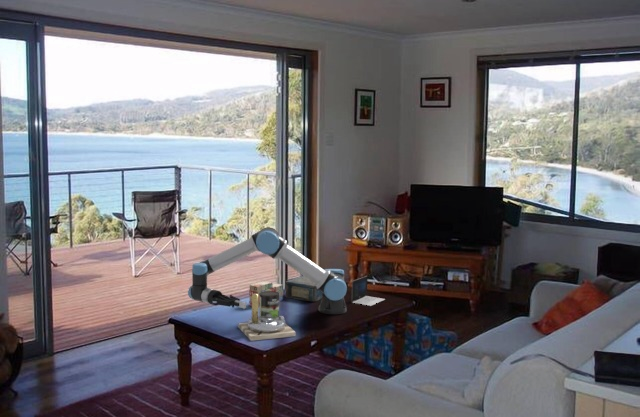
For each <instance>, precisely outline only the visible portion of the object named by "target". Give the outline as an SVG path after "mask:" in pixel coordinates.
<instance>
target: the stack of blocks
mask: <svg viewBox="0 0 640 417" xmlns="http://www.w3.org/2000/svg"><path fill="white" fill-rule="evenodd" d="M265 291H273V292H278V293H279V302H281V301H283V299H284V285H283V284H280V283H274V282H271V281H267V280H263V281H258V282H256V283H251V284H249V294H248V295H249V307H252V294H254V293H257V294H258V309H259V300H260V295H259V293H261V292H265Z"/></svg>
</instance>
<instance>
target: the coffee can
mask: <svg viewBox="0 0 640 417" xmlns="http://www.w3.org/2000/svg"><path fill="white" fill-rule="evenodd" d="M259 295H260V300H259V308H258V317H259V316H266V314H267V313H272V316H275V317H279V316H280V301H279V293H278V292H273V291H265V292H261V293H259Z"/></svg>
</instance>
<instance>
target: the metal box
mask: <svg viewBox="0 0 640 417" xmlns="http://www.w3.org/2000/svg"><path fill="white" fill-rule="evenodd" d="M285 298H290V299H293V300H300V301H306V302H315V303H316V302H318V301H321V299H322V292H321V291H320V290H318V289H317V288H316V284H315V283H313V282H312V281H310V280H309V279H307V278H306V277H305V276H303V275H301V276H298V277H295V278H291V279H289V280H286V281H285Z"/></svg>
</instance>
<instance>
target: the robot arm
mask: <svg viewBox="0 0 640 417" xmlns="http://www.w3.org/2000/svg"><path fill="white" fill-rule="evenodd" d="M255 252H261V253H262V254H263V255H267V256H269V257H270V258H272V259H273V260H275V259H279V260H280V261H281V262H283V263H284V264H286V265H287V266H288V267H290V268H291V269H293V270H294V271H295V272H297V273H299V274H301V276H305V277H306V278H307V279H309V280H310V281H312V282H313V283H315V284H316V288H317V289H318V290H320V291H321V292H322V299H320V300H319V304H318V312H319V313H321V314H326V315H340V314H345V313H347V304H346V301H345V296H346V294H347V290H348V287H347V284H346V281H345V270H344V269H341V268H325V269H323V268H322V267H321V266H319V265H318V264H317V263H315V262H314V261H312V260H311V259H309V258H308V257H306V256H305V255H303V254H302V253H301V252H299V251H297V250H296V249H295V248H293V247H292V246H290V245H289V244H288V240H287V239H285V238H284V237H283V236H281V235H280V234H279V232H278V230H276V229H275V228H273V227H268V226H267V227H264V228H261V229H260V230H258V231H257V232H255V233H253V234H252V235H250V237H249V238H247V239H246V240H244V241H242V242H239V243H237V244H236V245H234V246H231V247H230V248H228V249H226V250H224V251H221V252H220V253H218V254H215V255H213V256H211V257H210V258H207V259H206V260H201V261H200V262H195V263H193V264H192V268H191V273H192V274H191V275H192V278H191V279H192V285H191V286H190V287H188V290H187V294H188V298H189V299H192V300H193V301H196V302H201V303H205V304H207V305H211V306H215V307H216V306H223V307H224V306H225V307H231V308H233V309H234V308H235V307H236V308H240V309H241V308H242V309H247V302H245V301H242V300H241V299H240V298H239V297H236V296H234V295H232V294H230V295H229V296H228V295H225V294H223V293H222V291H221V290H217V289H213V288H209V287H208V276H209V275H210V274H213V273H214V272H216V271H218V270H220V269H222V268H224V267H226V266H228V265H230V264H232V263H235V262H236V261H238V260H241V259H243V258H245V257H247V256H248V255H249V256H250V255H251V254H253V253H255Z"/></svg>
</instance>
